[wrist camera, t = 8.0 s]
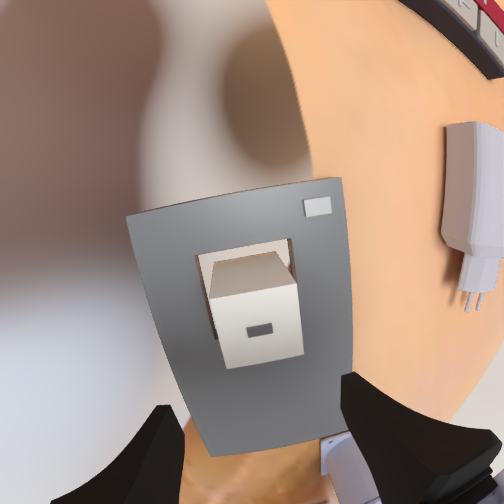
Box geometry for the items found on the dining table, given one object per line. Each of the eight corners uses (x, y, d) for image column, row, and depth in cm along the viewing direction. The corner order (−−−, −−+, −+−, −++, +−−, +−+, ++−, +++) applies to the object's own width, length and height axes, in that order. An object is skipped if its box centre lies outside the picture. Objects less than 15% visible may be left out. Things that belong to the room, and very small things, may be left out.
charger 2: (421, 304, 21) (441, 125, 18) (482, 297, 22) (501, 150, 19) (454, 328, 17) (481, 119, 13) (512, 315, 18) (535, 151, 14)
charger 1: (275, 251, 19) (297, 284, 13) (283, 306, 20) (304, 356, 14) (214, 262, 19) (208, 300, 13) (225, 317, 20) (226, 370, 14)
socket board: (332, 177, 18) (343, 177, 16) (343, 419, 23) (349, 432, 22) (133, 213, 17) (123, 217, 16) (211, 445, 23) (210, 459, 21)
